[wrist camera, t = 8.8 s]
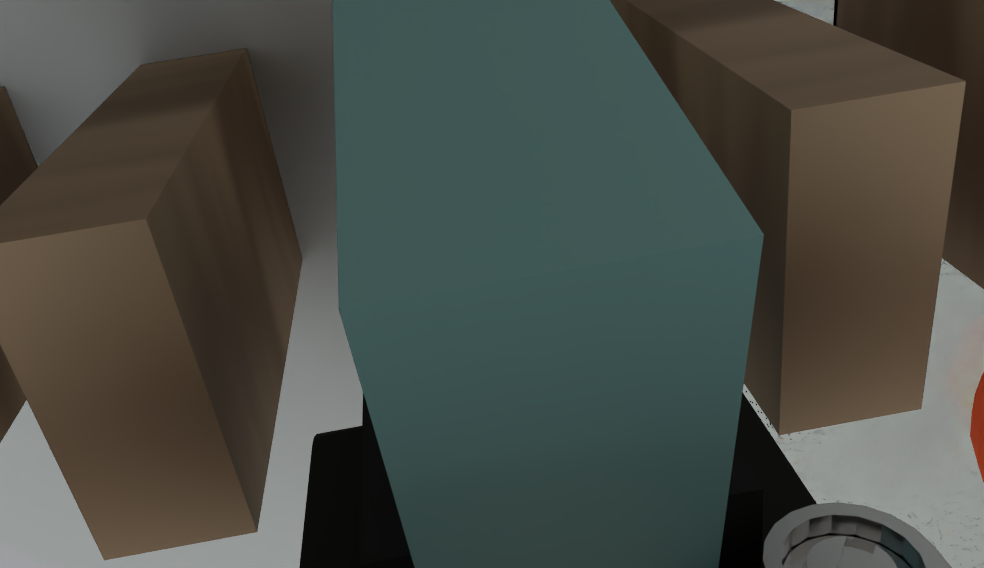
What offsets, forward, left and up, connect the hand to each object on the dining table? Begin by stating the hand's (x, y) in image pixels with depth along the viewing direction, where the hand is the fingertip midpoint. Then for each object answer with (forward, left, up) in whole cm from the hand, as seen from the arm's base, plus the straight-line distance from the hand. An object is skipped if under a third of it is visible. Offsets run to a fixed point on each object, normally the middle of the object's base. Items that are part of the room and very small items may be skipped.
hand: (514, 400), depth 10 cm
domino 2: (-5, 0, +2) cm, 5 cm away
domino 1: (0, -5, -10) cm, 11 cm away
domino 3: (0, +5, -10) cm, 11 cm away
